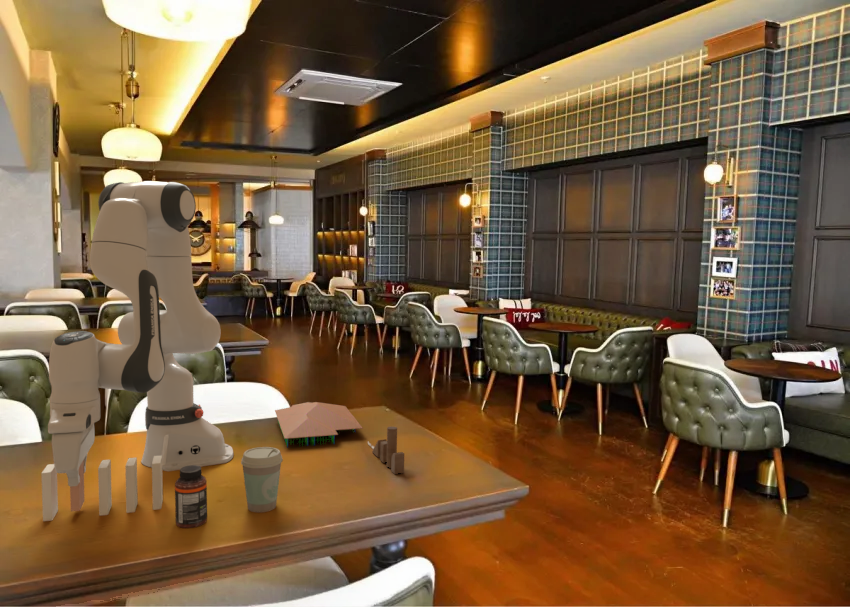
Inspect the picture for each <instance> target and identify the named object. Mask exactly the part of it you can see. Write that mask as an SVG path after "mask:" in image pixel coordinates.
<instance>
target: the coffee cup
mask: <svg viewBox="0 0 850 607" xmlns="http://www.w3.org/2000/svg"><path fill="white" fill-rule="evenodd" d="M283 461H284V460H283V455H282V454H281V451H280V449H279V448H276V447H272V446H271V447H270V446H262V447H261V446H259V447H253V448H249V449H246V450H245V451H244V452H243V455H242V458H241V461H240V464H241V465H242V471H243V480H244V487H245V488H244V489H245V496H246V503H247V509H248V511H250V512H251V513H252V512H253V513H266V512H270V511H273V510H274V509H276V506H277V501H278V499H277V498H278V494H279V493H278V491H279V482H280V475H281V466H282V463H283Z"/></svg>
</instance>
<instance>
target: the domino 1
mask: <svg viewBox="0 0 850 607" xmlns="http://www.w3.org/2000/svg"><path fill="white" fill-rule="evenodd" d="M79 475H80V482H79V484H78V485H77V486H71V487H70V486H69V494H70V496H69V497H70V498H69V499H70V512H78V511H79V512H80V511H81V508H82V507H83V505H84V504H85V473H84V460H83V461H82V463H81V465H80V467H79Z"/></svg>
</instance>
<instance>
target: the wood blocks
mask: <svg viewBox="0 0 850 607" xmlns="http://www.w3.org/2000/svg"><path fill="white" fill-rule="evenodd" d="M386 430H387V431H386V439H378V440H377V442H376V443H375V445H372V443H370V442H369V441H367V444H368V446H369V447H370V448H371V449H372V454H374V455H375V456H376V457H377V458H379V460H380V462H382V463H383V464H385V462H387V463H386V467H387V468H388V467H389V468H388V469H391V470H390V471H391V472H392V473H393V474H394V475H398V473H401V474H404V473H405V453H404V452H402V451H401V452H398V427H397V426H388V427H387V429H386Z"/></svg>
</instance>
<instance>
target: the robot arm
mask: <svg viewBox="0 0 850 607" xmlns="http://www.w3.org/2000/svg"><path fill="white" fill-rule="evenodd" d="M97 202H98V203H97V205H98V210H99V213H98V216H97V218H96V221H95V225H94V230H93V232H92V239H91V246H90V250H89V251H90V252H89V268H90V269H91V271H92V273H93V275H94V276H95V277H96V278H97V279H98V281H100V282H101V283H103V285H105V286H107V287H109V288H111V289H114V290H116V291H118V292H120V293H122V294H123V295H125V296H126V297H127V298H128V299H129V300H130V301H129V302H130V303H131V305H132V310H133V311H130V312H127V313H125V315H124V316H122V318H121V319H120V321H119V323H118V326H117V335H118V340H119V342H120V343H119V344H118V343H108V342H105V341H102V340H99V339H97V338H96V336H95V334H94V333H93V332H91V331H86V330H78V331H71V332H65V333H62V334H60V335H58V336H56V337H55V338H54V339H53V340H52V343H51V346H50V351H49V359H48V360H49V361H48V378H49V383H50V386H51V394H50V397H49V420H48V422H47V423H48V424H47V433H48V434H51V448H52V458H53V464H54V466H55V469H56V472H57V474H65V475H66V476H67V486H69V488H70V487H71V486H77V485H78V484H79V482H80V475H79V467H80V465H81V463H82V461H83V460H84V474H85V473H86V470H87V468H86V467H87V464H86V463H87V458H88V453H89V451H90V450H91V448H92V446H93V445H94V443H95V433H96V432H95V423H97V422H98V421H100V419H101V394H100V391H99V388H101V389H106V390H108V389H109V390H120V391H121V390H122V391H127V392H133V393H139V394H145V393H146V400H147V404H146V405H147V406H146V408H145V411H144V412H145V414H144V415H145V416H144V420H145V422H144V423H145V430H146V438H145V446H144V450H143V454H142V457H141V461H140V462H141V464H142V465H143V466H146V467H148V468H152V462H153V458H154V456H161V455H162V471H165V472H173V471H180V469H181V468H182V467H185V466H190V465H197V466H200V467H201V468H202V467H206V466H214V465H220V464H226V463H228V462H230V461H231V460H232V459H233V458H234V449H233V447H232V446H231V445H229V444H227V443H225V438H224V434H223V432H222V431H221V429H220V428H219V427H217V426H216V425H214V424H213V423H211V422H209V421H208V420H206V419H205V418H203V416H204V410H203V408H202V406H201V404H196V403H194V378H193V377H194V376H193V375H192V373H191V372H190V370H188V369H187V368H186V367H183V365H180V364H179V363H178V361H177V360H176V358H175V357H174V354H183V355H190V354H191V355H195V354H202V353H207V352H211V351H213V350H214V349H215V348H216V346H218V344H219V342H220V339H221V332H222V330H221V324H220V322H219V321H218V319H217V318H216V316H215V315H213V314H212V313H211V312H209V310H208V309H206V308H205V307H204V306H203V304H202V303H201V301H200V299H199V297H198V296H197V293H196V291H195V286H194V281H193V268H192V266H193V265H192V264H193V263H192V244H191V236H190V230H189V225H190V224H191V222H192V221H193V219H194V217H195V215H196V214H195V213H196V208H197V206H196V199H195V196H194V194H193V192H192V190H191V189H190V188H189V186H187V185H185V184H183V183H179V182H176V181H169V182H167V181H156V180H155V181H154V180H143V181H132V182H124V181H123V182H121V181H120V182H119V181H118V182H114V183H110V184H108V185H106V186H105V187H104V188H103V189H102V191H101V192H100V194H99V197H98V201H97ZM160 299H161V300H162V302H163V303H164V305H165V309H160V308H161V307H160Z"/></svg>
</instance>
